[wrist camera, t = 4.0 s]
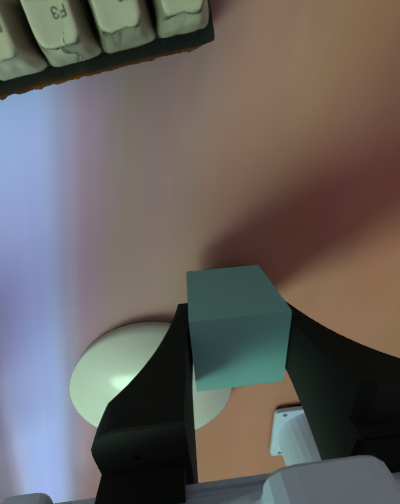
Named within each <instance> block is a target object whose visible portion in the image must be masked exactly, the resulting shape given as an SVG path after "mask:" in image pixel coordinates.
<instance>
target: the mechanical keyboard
mask: <svg viewBox="0 0 400 504" xmlns="http://www.w3.org/2000/svg"><path fill="white" fill-rule="evenodd" d="M214 37H215V36H214V28H213V22H212V15H211V8H210V4H209V0H0V99H1V100H4V99H6V97H7V96H9V95H12V94H23V93H26V92H28V91H30V90H34V89H36V90H37V89H43V87H46V86H49V85H52V84H57V85H58V84H61V83H64V82H66V81H68V80H74V79H79V78H81V77H83V76H91V75H94V74H99V73H101V72H104V71H112V70H114V69H118V68H120V67H124V66H127V65H131V64H138V63H141V62H145V61H152V60H154V59H155V58H159V57H161V56H167V55H172V54H176V53H182V52H191V51H193V50H194V49H197V48H199V47H200V46H202V45H203V44H206V43H208V42H211V41H213V40H214Z"/></svg>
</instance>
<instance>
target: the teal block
mask: <svg viewBox="0 0 400 504" xmlns="http://www.w3.org/2000/svg"><path fill="white" fill-rule="evenodd" d="M187 294H188V319H189V330H190V338H191V347H192V355H193V364H194V373H195V381H196V390H197V392H198V391H207V390H215V389H223V388H231V387H239V386H247V385H255V384H264V383H272V382H280V381H283V380H284V372H285V364H286V356H287V348H288V340H289V332H290V324H291V316H292V310H291V309H290V307H289V306H288V305H287V303H286V302H285V300H284V299H283V298H282V296H281V295H280V294H279V292H278V291H277V289H276V288H275V287H274V285H273V284H272V283H271V281H270V280H269V279H268V277H267V276H266V274H265V273H264V272H263V270H262V269H261V268H260V266H259V265H249V266H239V267H229V268H219V269H209V270H198V271H188V272H187Z"/></svg>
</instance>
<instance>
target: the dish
mask: <svg viewBox="0 0 400 504" xmlns="http://www.w3.org/2000/svg"><path fill="white" fill-rule="evenodd" d="M170 325H171V323H167V322H141V323H135V324H129V325H126V326H122V327H119V328H116V329H114V330H111V331H109V332H107V333H106V334H104V335H102V336H100V337H99V338H98V339H96V340H95V341H94V342H92V343H91V344H90V345H89V346H88V347H87V349H86V350H85V351H84V353H83V354H82V356H81V358H80V360H79V362H78V364H77V366H76V368H75V370H74V372H73V374H72V376H71V380H70V388H69V391H70V397H71V400H72V402H73V405H74V406H75V408H76V410H77V411H78V412H79V413H80V415H81V416H82V417H83V418H85V419H86V420H87V421H88V422H89V423H91V424H92V425H94V426H95V427H97V428H98V425H99V423H100V420H101V418H102V416H103V413H104V411H105V409H106V407H107V404H108V403H109V402H110V401H111V400H112V399H113V398H114V397H115V396H116V395H117V394H119V393H120V392H121V391H122V390H123V389H124V388H125V387H126V386H127V385H128V384H129V383H130V382H131V380H132V379H133V378H134V377H135V376H136V375H137V374H138V373H139V372H140V371H141V369H142V368H143V367H144V366H145V364H146V363H147V362H148V361H149V359H150V358H151V357H152V355H153V354H154V352H155V351H156V349H157V348H158V346H159V345H160V343H161V342H162V340H163V338H164V336H165V334H166V333H167V331H168V329H169V327H170ZM230 393H231V388H223V389H215V390H207V391H198V392H197V390H196V381H195V373H194V364H193V407H194V425H195V430H196V429H198V428H200V427H202V426H203V425H205V424H207V423H208V422H210V421H211V420H212V419H213V418H215V417H216V416H217V415H218V414H219V413H220V412H221V411H222V409H223V408H224V406H225V405H226V403H227V401H228V399H229V396H230Z"/></svg>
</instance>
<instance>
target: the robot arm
mask: <svg viewBox="0 0 400 504" xmlns="http://www.w3.org/2000/svg"><path fill="white" fill-rule="evenodd" d="M285 302H286V301H285ZM286 303H287V302H286ZM287 305H288V306H289V307H290V309H291V310H292V316H291V324H290V332H289V340H288V348H287V356H286V364H285V368H286V370H287V372H288V374H289V376H290V378H291V381H292V383H293V385H294V388H295V390H296V393H297V395H298V398H299V400H300V403H301V405H302V406H297V407H289V408H281V409H277V410H276V411H275V412H274V419H273V428H272V437H271V446H270V452H271V455H273V456H276V455H282V456H283V458H284V461H285V464H286V467H283V468H280V469H278V470H276V471H275V472H273V473H268V474H261V475H254V476H247V477H240V478H233V479H226V480H219V481H211V482H204V483H198V474H197V458H196V442H195V425H194V407H193V355H192V347H191V338H190V330H189V319H188V303H184V304H179V305H178V307H177V310H176V313H175V316H174V318H173V320H172V323H171V325H170V327H169V329H168V331H167V333H166V334H165V336H164V338H163V340H162V342H161V343H160V345H159V346H158V348H157V349H156V351H155V352H154V354H153V355H152V357H151V358H150V359H149V361H148V362H147V363H146V364H145V366H144V367H143V368H142V369H141V371H140V372H139V373H138V374H137V375H136V376H135V377H134V378H133V379H132V380H131V382H130V383H129V384H128V385H127V386H126V387H125V388H124V389H123V390H122V391H121V392H120V393H119V394H117V395H116V396H115V397H114V398H113V399H112V400H111V401H110V402H109V403H108V404H107V407H106V409H105V411H104V413H103V416H102V418H101V420H100V423H99V425H98V428H97V432H96V435H95V438H94V441H93V445H92V449H91V452H92V456H93V458H94V460H95V462H96V464H97V466H98V468H99V470H100V472H101V474H102V476H101V480H100V484H99V488H98V492H97V496H96V498H90V499H83V500H76V501H69V502H62V503H55V504H400V358H397V357H394V356H391V355H388V354H385V353H382V352H380V351H377V350H374V349H372V348H369V347H367V346H364V345H362V344H359V343H357V342H355V341H353V340H350V339H348V338H346V337H344V336H342V335H340V334H338V333H336V332H334V331H332V330H330V329H328V328H326V327H325V326H323V325H321V324H319V323H318V322H316V321H314V320H313V319H311V318H309V317H308V316H306V315H305V314H303V313H302V312H300V311H299V310H297V309H296V308H295V307H293V306H292V305H290V304H289V303H287ZM2 504H53V502H52V499H51V498H50V496H48V495H47V494H44V493H33V494H26V495H19V496H12V497H7V498H6V499H4V500H3V502H2Z"/></svg>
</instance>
